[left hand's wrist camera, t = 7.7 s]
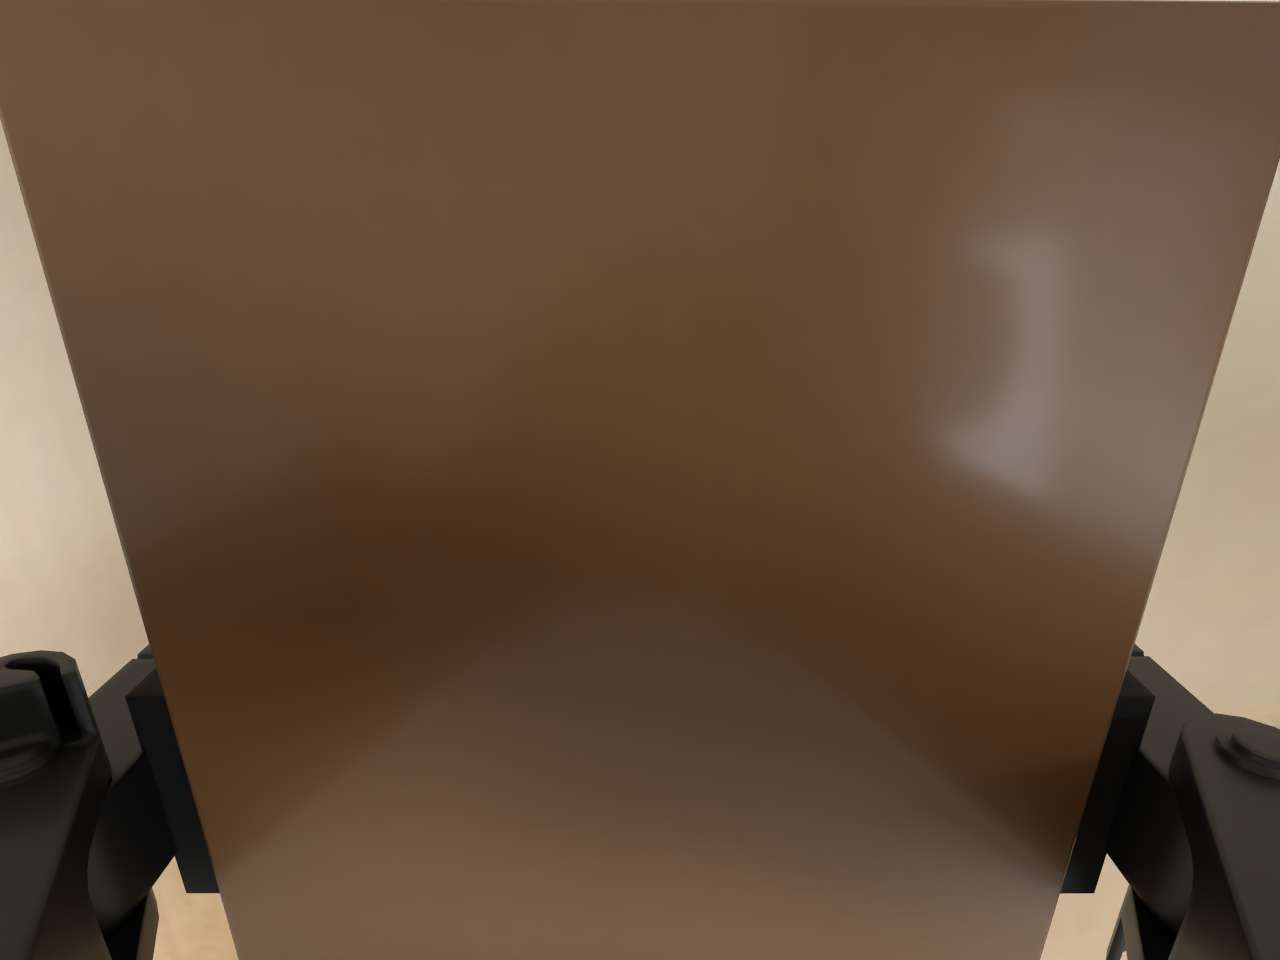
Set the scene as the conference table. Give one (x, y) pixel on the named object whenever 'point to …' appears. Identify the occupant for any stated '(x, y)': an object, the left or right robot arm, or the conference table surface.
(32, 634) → the conference table surface
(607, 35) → the slab
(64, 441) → the conference table surface
